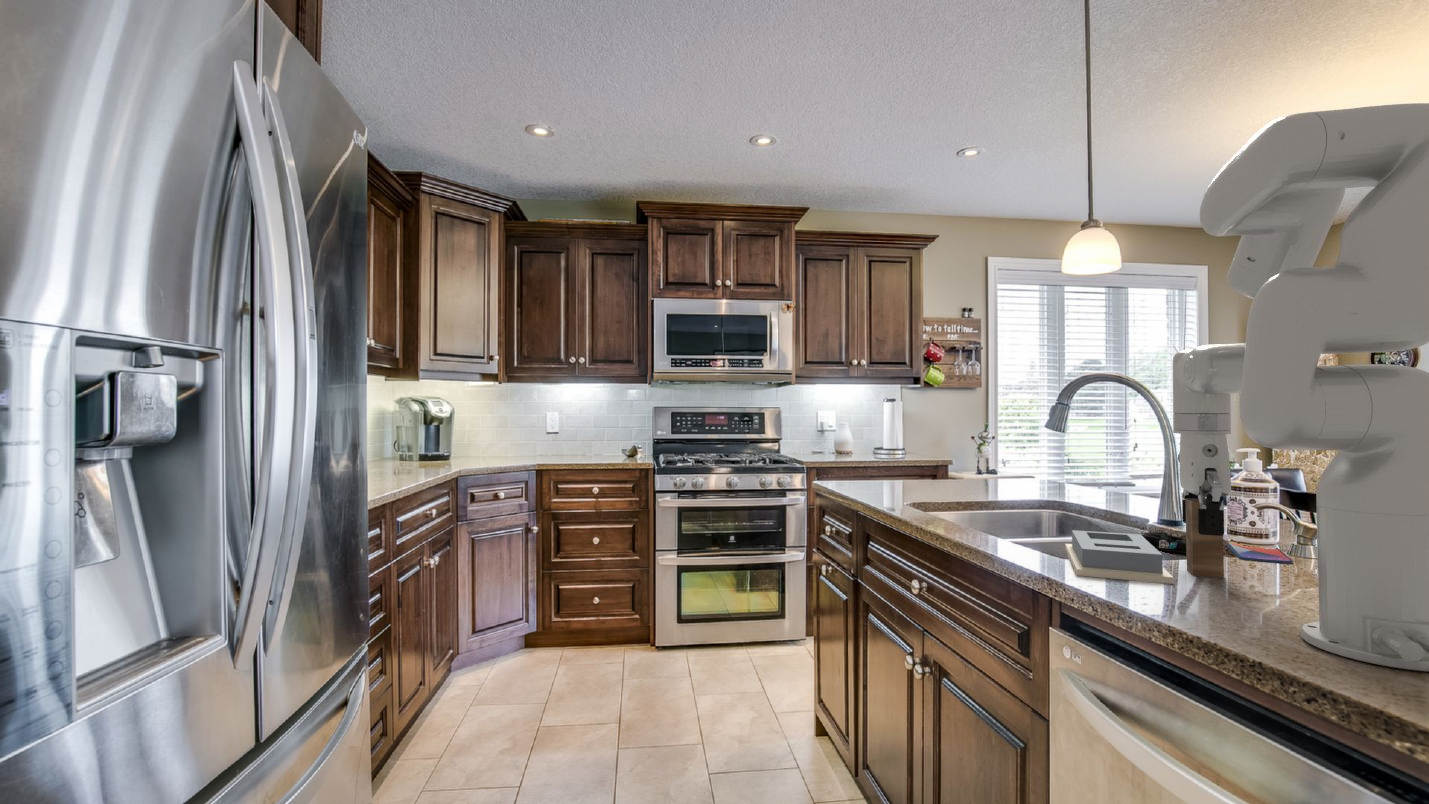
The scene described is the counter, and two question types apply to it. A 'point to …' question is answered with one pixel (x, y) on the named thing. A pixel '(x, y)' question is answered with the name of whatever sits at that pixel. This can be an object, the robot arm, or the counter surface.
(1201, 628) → the counter surface
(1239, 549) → the smartphone
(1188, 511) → the block
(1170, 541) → the toy car
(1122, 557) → the bore block
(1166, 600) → the counter surface
